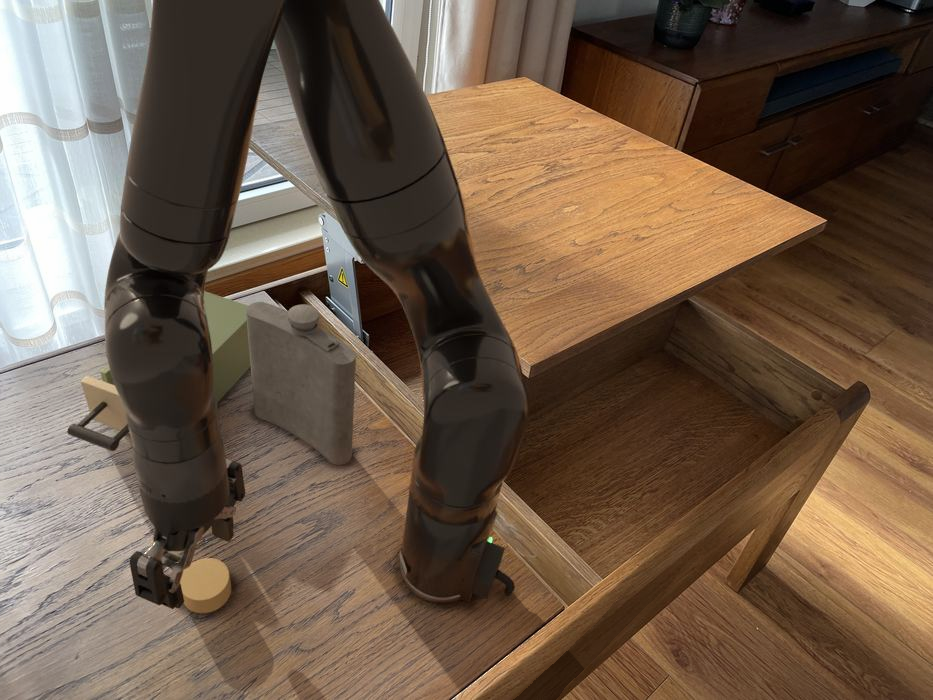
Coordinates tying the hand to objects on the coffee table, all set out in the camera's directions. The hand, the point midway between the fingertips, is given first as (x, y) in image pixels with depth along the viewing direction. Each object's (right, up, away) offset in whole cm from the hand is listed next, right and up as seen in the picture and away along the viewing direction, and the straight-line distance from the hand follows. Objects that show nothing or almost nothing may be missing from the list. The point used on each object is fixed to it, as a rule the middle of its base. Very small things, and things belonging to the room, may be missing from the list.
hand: (199, 568), depth 74 cm
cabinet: (-11, +20, +28) cm, 36 cm away
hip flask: (+6, +12, +22) cm, 25 cm away
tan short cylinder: (0, -3, +3) cm, 4 cm away
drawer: (-14, +14, +19) cm, 27 cm away
